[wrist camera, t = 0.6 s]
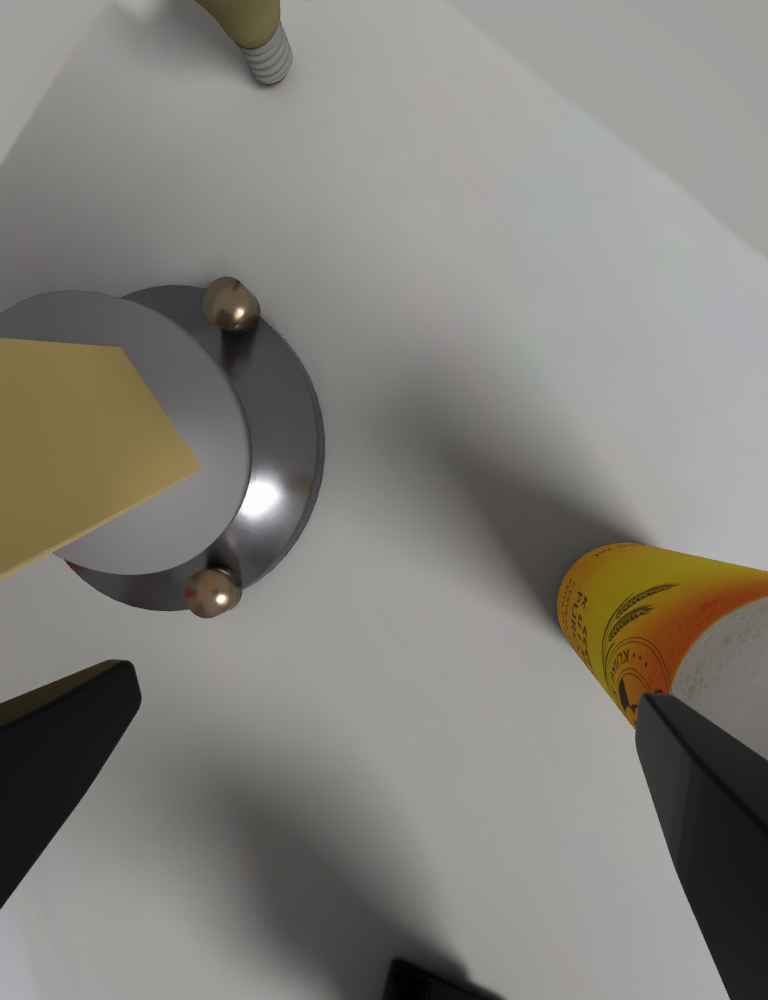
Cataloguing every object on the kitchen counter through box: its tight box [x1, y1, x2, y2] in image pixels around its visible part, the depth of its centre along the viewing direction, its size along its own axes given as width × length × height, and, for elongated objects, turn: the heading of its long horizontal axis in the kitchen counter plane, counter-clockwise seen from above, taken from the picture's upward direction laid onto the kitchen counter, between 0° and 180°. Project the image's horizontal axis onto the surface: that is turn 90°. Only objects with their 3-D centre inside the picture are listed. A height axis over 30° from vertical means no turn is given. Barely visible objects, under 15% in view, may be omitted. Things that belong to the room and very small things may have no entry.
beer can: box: [557, 543, 768, 760], centre depth 13 cm, size 6×6×15 cm
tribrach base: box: [64, 277, 325, 618], centre depth 23 cm, size 19×18×4 cm
